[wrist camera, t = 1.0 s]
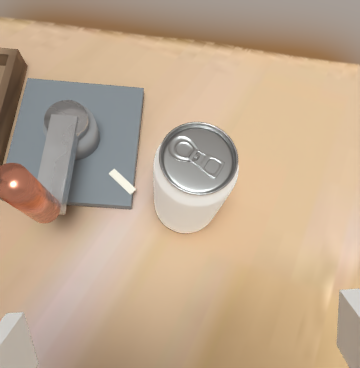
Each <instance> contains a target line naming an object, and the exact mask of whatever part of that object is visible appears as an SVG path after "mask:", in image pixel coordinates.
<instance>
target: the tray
mask: <svg viewBox="0 0 360 368" xmlns="http://www.w3.org/2000/svg"><path fill="white" fill-rule="evenodd" d="M26 70H27V65H26V63H25V61H24V59H23V58H22V56H21V54H20V52H19V50H18V49H8V48H0V166H1V165H2V163H3V159H4V155H5V151H6V147H7V144H8V140H9V136H10V132H11V128H12V124H13V120H14V117H15V113H16V109H17V105H18V101H19V97H20V93H21V90H22V86H23V82H24V78H25V74H26Z"/></svg>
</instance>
